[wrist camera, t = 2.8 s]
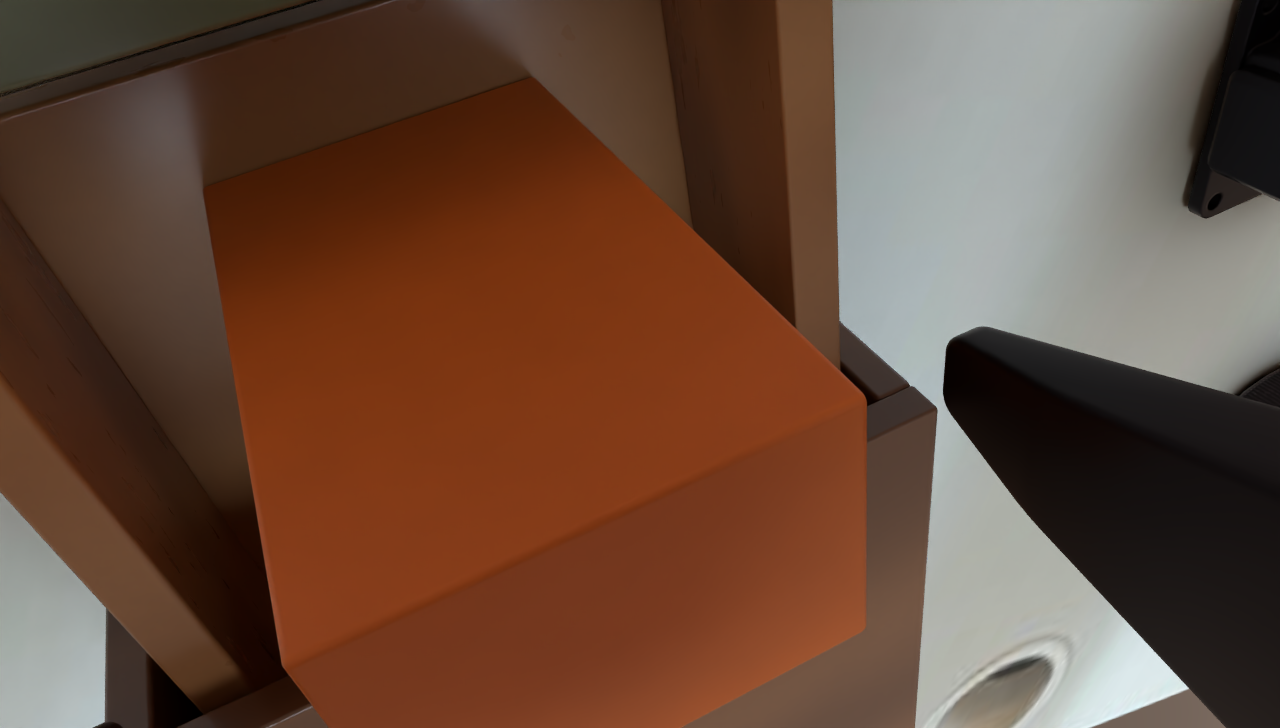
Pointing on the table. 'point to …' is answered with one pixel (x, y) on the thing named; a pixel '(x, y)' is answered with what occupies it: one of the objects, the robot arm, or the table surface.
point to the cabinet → (760, 719)
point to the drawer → (279, 130)
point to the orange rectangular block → (526, 434)
